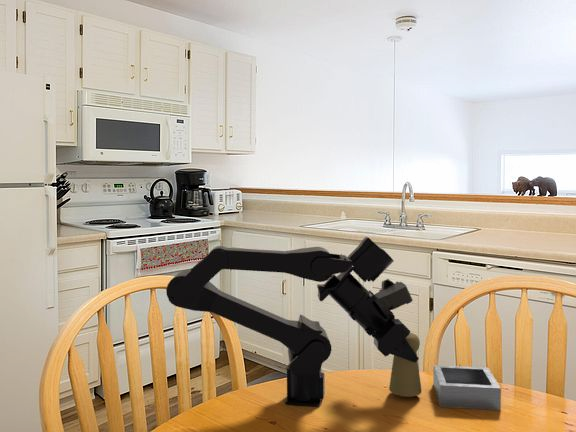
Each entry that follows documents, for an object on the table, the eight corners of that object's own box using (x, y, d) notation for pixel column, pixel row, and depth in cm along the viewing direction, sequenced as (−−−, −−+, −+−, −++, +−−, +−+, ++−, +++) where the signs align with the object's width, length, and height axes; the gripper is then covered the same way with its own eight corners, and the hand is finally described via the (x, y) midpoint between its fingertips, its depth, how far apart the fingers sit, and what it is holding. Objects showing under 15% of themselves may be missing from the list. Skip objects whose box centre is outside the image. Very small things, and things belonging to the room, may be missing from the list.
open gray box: (440, 406, 93) (440, 385, 93) (433, 384, 103) (433, 365, 103) (500, 410, 91) (500, 388, 91) (487, 387, 102) (487, 367, 101)
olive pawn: (422, 397, 95) (423, 338, 94) (389, 395, 96) (389, 337, 95) (420, 385, 100) (421, 329, 100) (389, 382, 102) (389, 328, 101)
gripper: (398, 278, 87) (461, 340, 88) (374, 261, 106) (427, 313, 107) (352, 324, 87) (415, 386, 88) (336, 299, 106) (389, 351, 107)
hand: (412, 355), depth 98 cm, fingers closed on olive pawn, 5 cm apart
